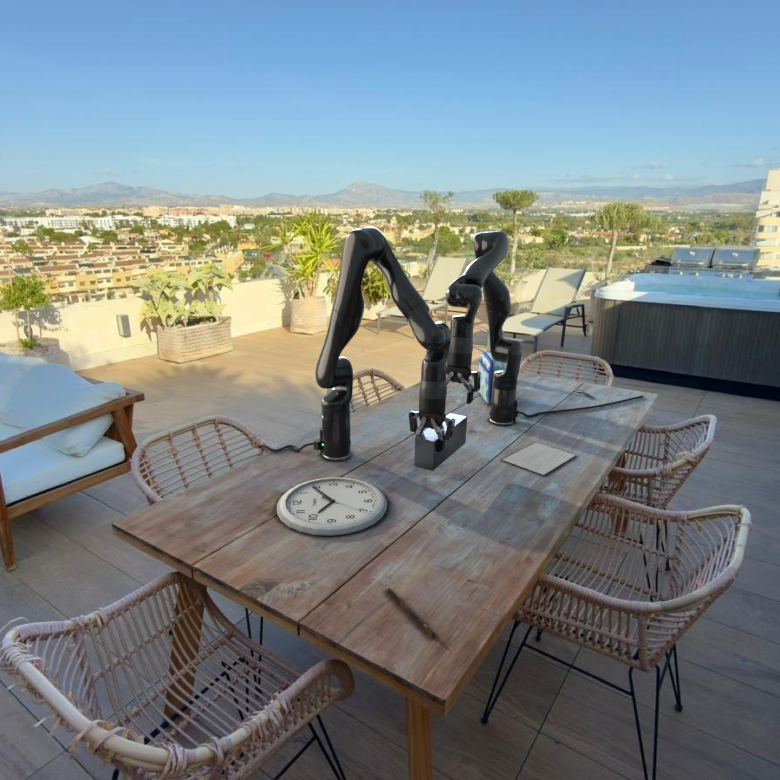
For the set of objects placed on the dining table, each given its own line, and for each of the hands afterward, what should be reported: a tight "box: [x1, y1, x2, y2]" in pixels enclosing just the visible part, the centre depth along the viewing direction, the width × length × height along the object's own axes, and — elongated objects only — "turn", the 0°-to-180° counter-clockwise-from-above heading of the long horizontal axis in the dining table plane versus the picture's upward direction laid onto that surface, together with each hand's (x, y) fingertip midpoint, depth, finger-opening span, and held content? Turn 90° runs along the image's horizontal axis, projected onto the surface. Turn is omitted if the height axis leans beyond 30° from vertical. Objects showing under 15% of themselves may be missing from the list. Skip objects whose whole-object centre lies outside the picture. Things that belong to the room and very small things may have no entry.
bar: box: [413, 412, 468, 472], centre depth 159 cm, size 24×6×9 cm, turn 149°
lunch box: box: [478, 351, 507, 406], centre depth 230 cm, size 26×11×21 cm, turn 179°
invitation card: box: [502, 442, 577, 476], centre depth 174 cm, size 21×1×15 cm
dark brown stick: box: [386, 587, 434, 638], centre depth 103 cm, size 15×1×1 cm, turn 34°
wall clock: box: [276, 476, 388, 537], centre depth 142 cm, size 30×2×30 cm
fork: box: [572, 384, 595, 399], centre depth 243 cm, size 3×16×2 cm, turn 16°
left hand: (430, 448), depth 152 cm, fingers closed on bar, 6 cm apart
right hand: (456, 400), depth 164 cm, fingers open, 8 cm apart
